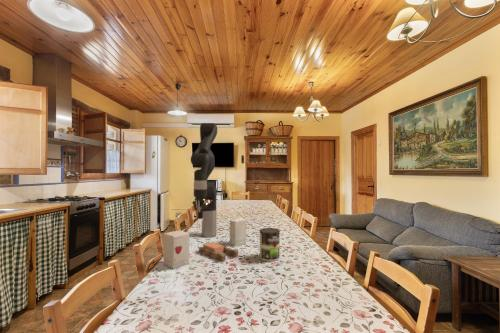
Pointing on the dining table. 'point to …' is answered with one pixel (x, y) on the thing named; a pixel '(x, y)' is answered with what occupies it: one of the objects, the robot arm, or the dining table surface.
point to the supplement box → (176, 249)
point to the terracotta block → (214, 247)
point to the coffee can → (269, 244)
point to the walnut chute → (217, 255)
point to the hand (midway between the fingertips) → (200, 218)
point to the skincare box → (237, 232)
